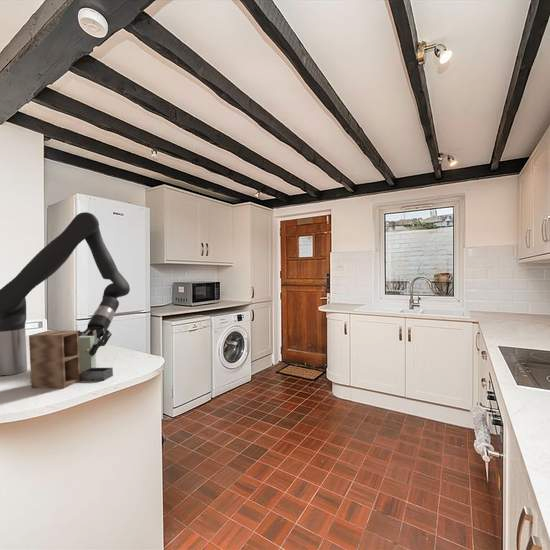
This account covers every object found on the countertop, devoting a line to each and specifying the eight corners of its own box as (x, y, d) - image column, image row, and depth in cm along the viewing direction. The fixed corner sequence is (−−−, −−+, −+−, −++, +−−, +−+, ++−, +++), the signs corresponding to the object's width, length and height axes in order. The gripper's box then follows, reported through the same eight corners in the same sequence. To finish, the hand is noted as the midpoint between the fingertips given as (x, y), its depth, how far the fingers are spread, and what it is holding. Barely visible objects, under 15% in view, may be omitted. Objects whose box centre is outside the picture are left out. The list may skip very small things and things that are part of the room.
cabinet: (31, 388, 104) (28, 335, 104) (50, 380, 112) (47, 330, 112) (64, 388, 103) (61, 335, 103) (80, 380, 111) (78, 330, 110)
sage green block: (75, 374, 118) (73, 338, 117) (82, 371, 121) (80, 335, 121) (89, 374, 117) (88, 337, 117) (96, 371, 120) (94, 335, 120)
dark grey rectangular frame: (79, 380, 110) (79, 372, 110) (89, 375, 115) (89, 367, 115) (103, 380, 109) (103, 372, 109) (112, 375, 114) (112, 367, 114)
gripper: (81, 314, 127) (59, 350, 116) (113, 313, 126) (95, 349, 114) (90, 324, 133) (71, 359, 121) (122, 324, 131) (105, 359, 120)
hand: (82, 354), depth 118 cm, fingers open, 6 cm apart
